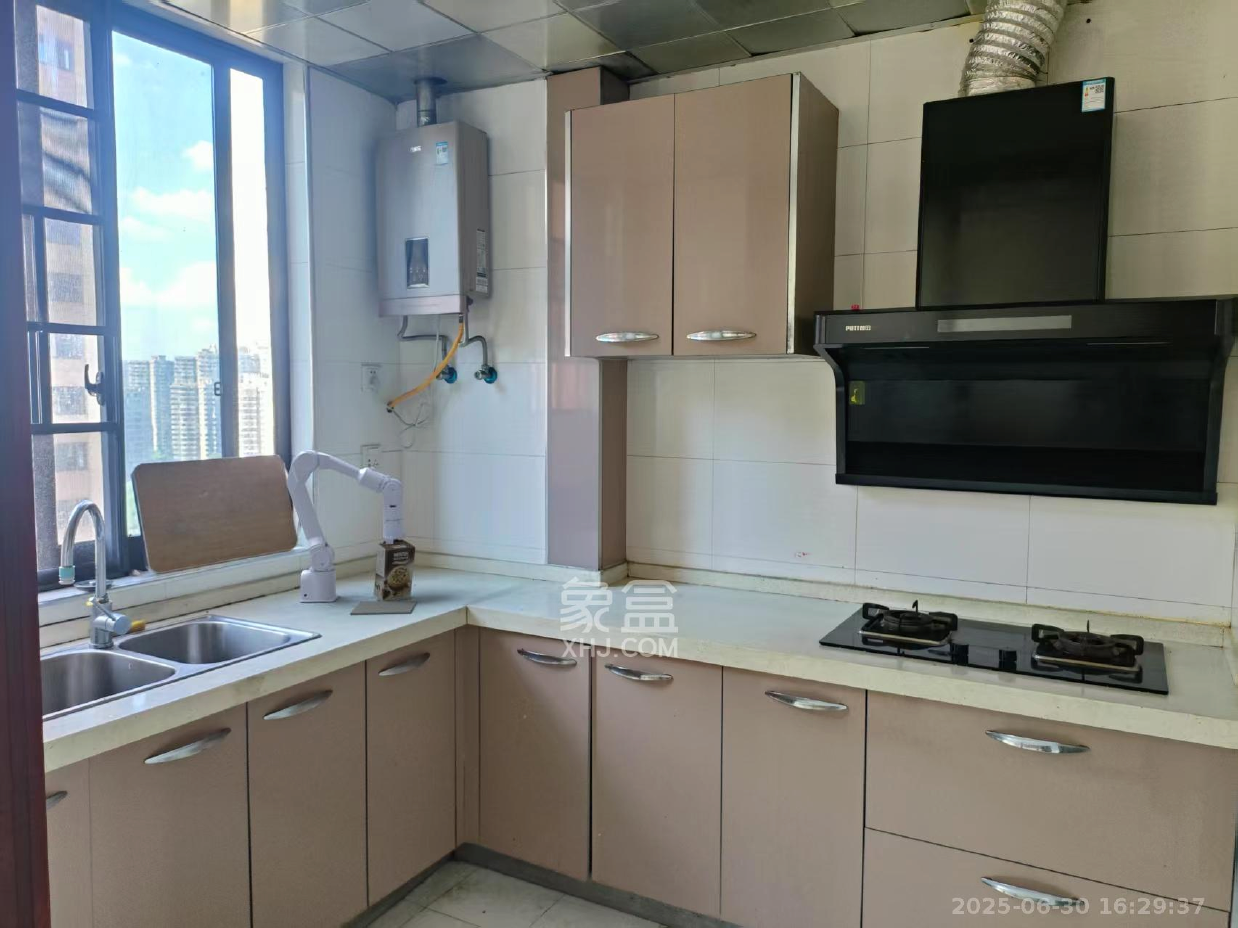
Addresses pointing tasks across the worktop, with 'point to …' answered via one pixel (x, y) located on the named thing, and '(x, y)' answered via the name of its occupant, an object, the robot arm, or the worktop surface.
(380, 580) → the coffee box
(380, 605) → the mat
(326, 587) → the robot arm
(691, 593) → the worktop surface
